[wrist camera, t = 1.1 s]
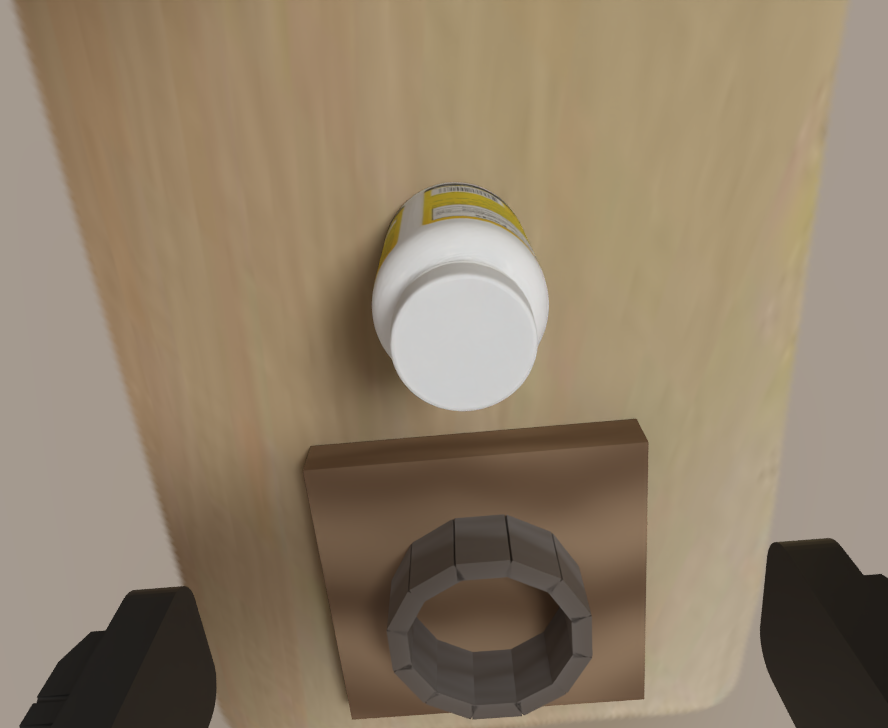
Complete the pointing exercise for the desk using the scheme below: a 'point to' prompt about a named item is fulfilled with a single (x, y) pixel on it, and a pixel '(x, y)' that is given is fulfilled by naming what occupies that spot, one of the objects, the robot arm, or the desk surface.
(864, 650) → the robot arm
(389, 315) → the supplement bottle
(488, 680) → the cup bracket
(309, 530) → the desk surface
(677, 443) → the desk surface
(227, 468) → the desk surface
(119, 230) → the desk surface
